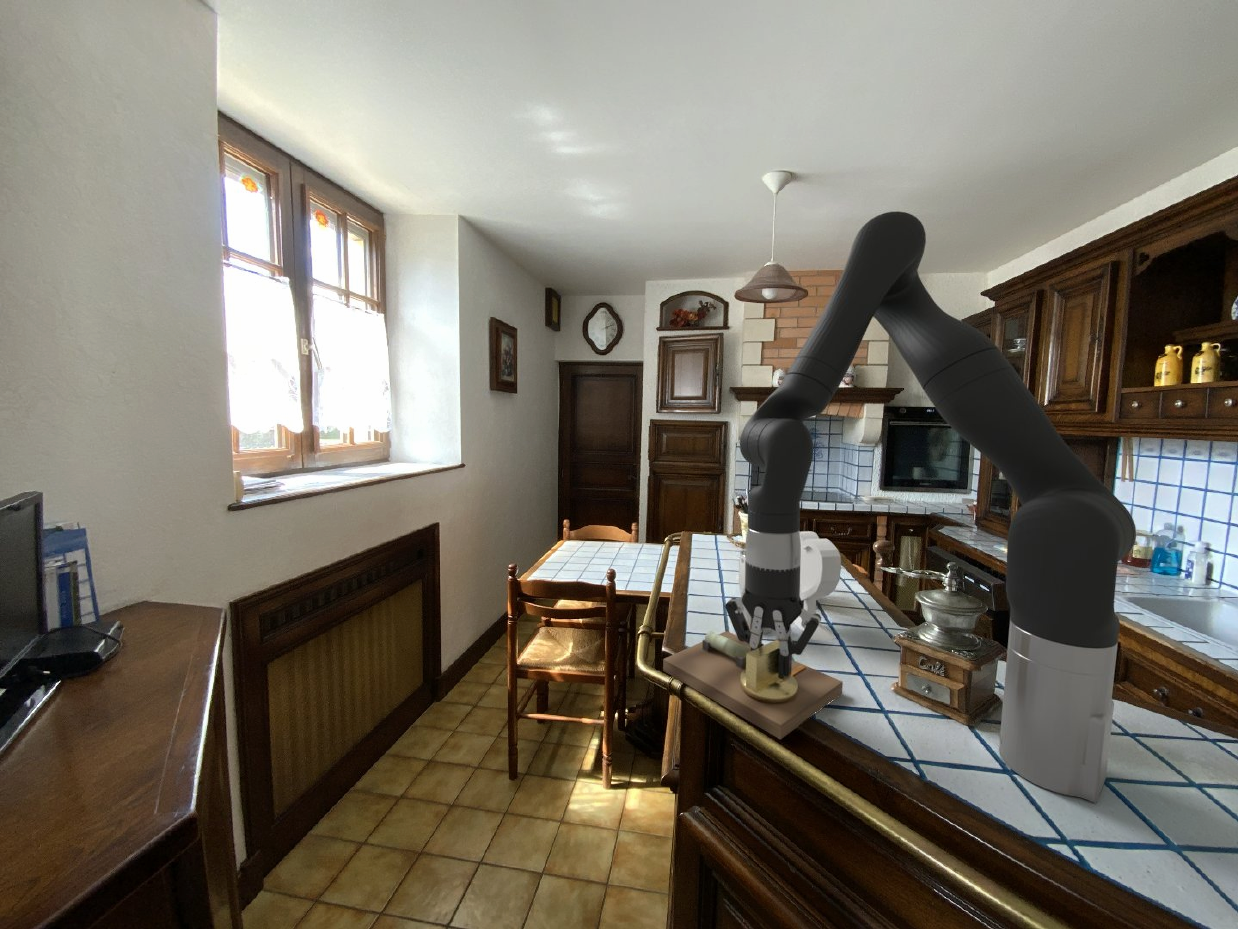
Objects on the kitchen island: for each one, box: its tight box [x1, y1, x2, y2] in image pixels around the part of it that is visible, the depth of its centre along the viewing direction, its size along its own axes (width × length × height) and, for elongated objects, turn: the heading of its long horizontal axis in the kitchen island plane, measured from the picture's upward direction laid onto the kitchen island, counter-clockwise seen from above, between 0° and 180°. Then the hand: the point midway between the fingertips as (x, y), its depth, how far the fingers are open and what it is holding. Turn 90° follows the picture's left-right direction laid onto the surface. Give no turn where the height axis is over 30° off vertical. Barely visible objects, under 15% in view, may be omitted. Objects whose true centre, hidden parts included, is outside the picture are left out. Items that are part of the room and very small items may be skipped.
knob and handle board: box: [662, 630, 843, 740], centre depth 77 cm, size 22×16×5 cm
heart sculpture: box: [793, 530, 842, 642], centre depth 97 cm, size 16×5×18 cm, turn 5°
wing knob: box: [741, 638, 798, 703], centre depth 72 cm, size 8×8×6 cm
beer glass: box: [738, 548, 773, 635], centre depth 96 cm, size 7×7×15 cm
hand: (770, 672), depth 72 cm, fingers closed on wing knob, 3 cm apart
